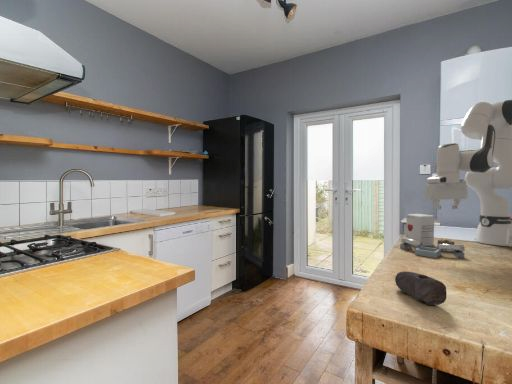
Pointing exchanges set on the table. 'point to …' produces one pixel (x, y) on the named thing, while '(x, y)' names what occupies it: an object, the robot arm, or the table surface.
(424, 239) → the supplement box
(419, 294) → the perforated stone tool
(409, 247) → the shaft
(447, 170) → the robot arm
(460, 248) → the shaft
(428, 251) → the housing
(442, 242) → the block
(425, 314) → the table surface
